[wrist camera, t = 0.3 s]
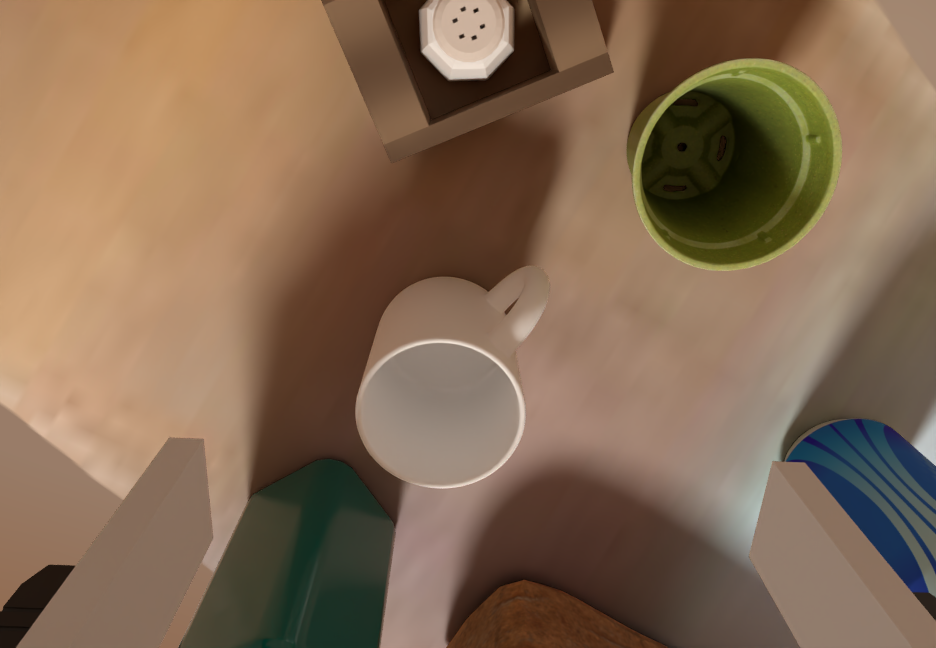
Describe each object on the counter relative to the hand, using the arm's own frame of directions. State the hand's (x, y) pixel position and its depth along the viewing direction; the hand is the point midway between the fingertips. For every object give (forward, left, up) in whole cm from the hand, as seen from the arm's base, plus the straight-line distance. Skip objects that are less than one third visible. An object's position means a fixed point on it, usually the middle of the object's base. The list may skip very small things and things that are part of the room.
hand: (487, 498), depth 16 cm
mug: (+5, -2, -27) cm, 27 cm away
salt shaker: (-10, +4, -27) cm, 29 cm away
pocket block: (-10, +4, -27) cm, 29 cm away
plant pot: (0, +13, -27) cm, 30 cm away
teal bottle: (+15, -16, -27) cm, 35 cm away
